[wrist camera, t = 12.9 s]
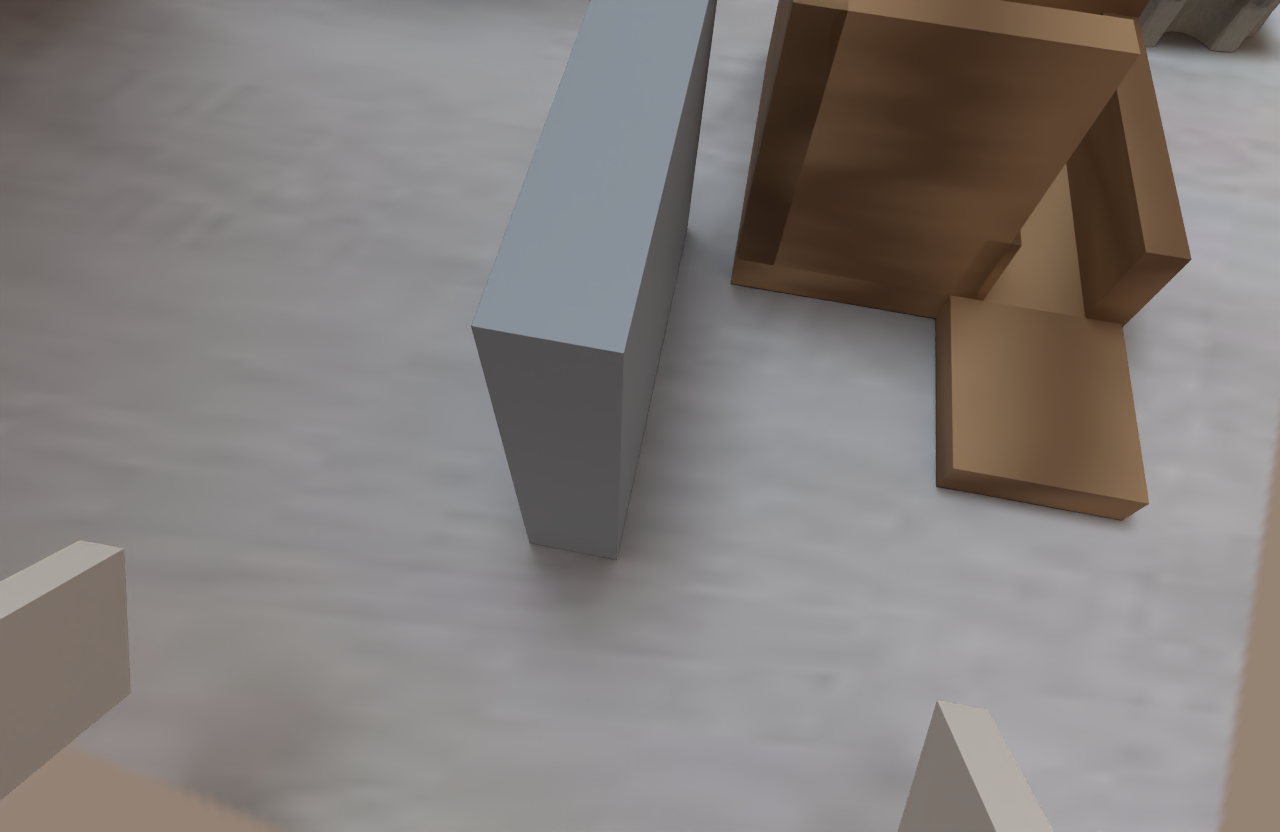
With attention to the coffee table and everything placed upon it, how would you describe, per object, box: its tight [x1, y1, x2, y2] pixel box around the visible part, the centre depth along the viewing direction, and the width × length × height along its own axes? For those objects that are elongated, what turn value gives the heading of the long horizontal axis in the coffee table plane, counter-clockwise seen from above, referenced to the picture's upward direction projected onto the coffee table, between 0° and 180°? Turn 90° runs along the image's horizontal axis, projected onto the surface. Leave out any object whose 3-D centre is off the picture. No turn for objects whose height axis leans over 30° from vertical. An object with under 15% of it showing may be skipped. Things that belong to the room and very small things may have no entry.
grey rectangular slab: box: [471, 0, 717, 560], centre depth 19 cm, size 2×12×10 cm, turn 170°
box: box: [731, 0, 1191, 520], centre depth 22 cm, size 12×18×10 cm, turn 169°
